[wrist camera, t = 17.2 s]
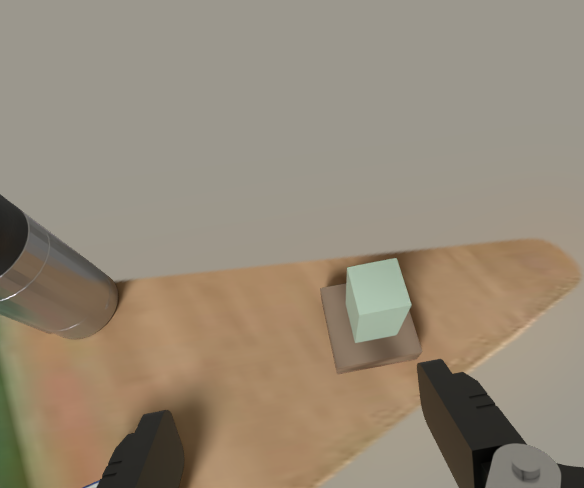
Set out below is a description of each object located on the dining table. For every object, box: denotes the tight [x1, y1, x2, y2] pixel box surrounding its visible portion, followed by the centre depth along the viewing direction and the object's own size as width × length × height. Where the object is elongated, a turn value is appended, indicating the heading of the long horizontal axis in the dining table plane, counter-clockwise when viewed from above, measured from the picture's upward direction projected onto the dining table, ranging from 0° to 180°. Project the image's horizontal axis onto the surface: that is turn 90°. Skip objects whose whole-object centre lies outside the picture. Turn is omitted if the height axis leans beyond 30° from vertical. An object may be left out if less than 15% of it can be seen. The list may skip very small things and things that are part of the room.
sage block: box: [346, 258, 412, 343], centre depth 39 cm, size 4×4×10 cm
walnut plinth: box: [320, 283, 422, 374], centre depth 46 cm, size 9×9×4 cm
